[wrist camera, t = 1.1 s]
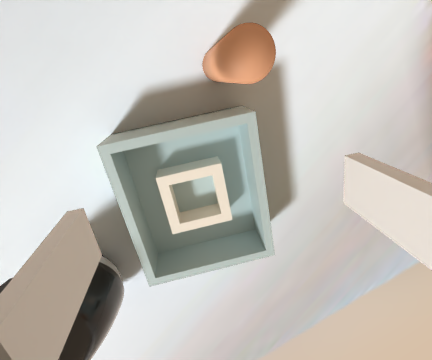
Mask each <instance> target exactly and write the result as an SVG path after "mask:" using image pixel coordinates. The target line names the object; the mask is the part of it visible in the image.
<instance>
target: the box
mask: <svg viewBox="0 0 432 360" xmlns="http://www.w3.org/2000/svg"><path fill="white" fill-rule="evenodd" d="M97 149H98V152H99V155H100V157H101V160H102V162H103V165H104V168H105V170H106V173H107V176H108V178H109V181H110V184H111V186H112V189H113V191H114V194H115V197H116V199H117V202H118V205H119V207H120V210H121V213H122V215H123V218H124V221H125V223H126V226H127V228H128V231H129V234H130V236H131V239H132V242H133V244H134V247H135V250H136V252H137V255H138V257H139V260H140V263H141V265H142V268H143V271H144V273H145V276H146V279H147V281H148V284H149V286H154V285H158V284H162V283H166V282H170V281H174V280H178V279H182V278H186V277H190V276H194V275H198V274H202V273H205V272H209V271H213V270H217V269H221V268H225V267H229V266H233V265H237V264H241V263H245V262H249V261H253V260H257V259H261V258H265V257H269V256H273V255H275V252H274V245H273V237H272V230H271V223H270V215H269V208H268V200H267V193H266V186H265V178H264V171H263V163H262V156H261V148H260V141H259V134H258V126H257V119H256V111H254V110H251V109H249V108H246V107H244V106H238V107H234V108H229V109H225V110H220V111H216V112H211V113H206V114H202V115H197V116H193V117H188V118H184V119H179V120H175V121H170V122H166V123H161V124H156V125H152V126H147V127H143V128H138V129H134V130H129V131H125V132H120V133H115V134H111V135H110V136H109V137H107V138H106V139H105V140H104V141H103V142H101V143H100V144H99V145H98V146H97Z"/></svg>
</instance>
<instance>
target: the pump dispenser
mask: <svg viewBox="0 0 432 360" xmlns="http://www.w3.org/2000/svg"><path fill="white" fill-rule="evenodd" d="M123 296H124V286H123V283H122V280H121V276H120V273H119V271H118V269H117V268H116V266H115V265H114V264H113V263H112V262H111V261H109V260H108V259H106V258H104V257H102V256H101V259H100V261H99V264H98V266H97V268H96V271H95V273H94V275H93V278H92V280H91V283H90V285H89V287H88V290H87V292H86V295H85V297H84V299H83V302H82V304H81V307H80V309H79V311H78V314H77V316H76V318H75V321H74V323H73V326H72V328H71V330H70V333H69V335H68V338H67V340H66V342H65V345H64V347H63V350H62V352H61V354H60V357H59V359H58V360H91V358H92V357H93V356H94V354H95V353H96V351H97V350H98V349H99V347H100V346H101V344H102V342H103V341H104V339H105V337H106V336H107V334H108V332H109V330H110V329H111V327H112V325H113V323H114V320H115V318H116V316H117V314H118V312H119V309H120V307H121V304H122V300H123Z"/></svg>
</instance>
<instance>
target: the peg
mask: <svg viewBox="0 0 432 360" xmlns="http://www.w3.org/2000/svg"><path fill="white" fill-rule="evenodd" d="M275 55H276V49H275V44H274V40H273V38H272V36H271V34H270V33H269V32H268V31H267V30H266V29H265V28H264V27H263V26H261V25H259V24H256V23H243V24H240V25H238V26H236V27H235V28H233V29H232V30H231V31H230V32H229V33H228V34H227V35H225V36H224V37H223V38H222V39H221V40H220V41H219V42H218V43H217V44H216V45H214V46H213V47H212V48H211V49H210V50H209V51H208V52H207V53H206V54H205V56H204V58H203V63H202V66H203V71H204V73H205V75H206V76H207V77H208V78H209V79H210V80H212V81H215V82H227V83H240V84H253V83H256V82H258V81H260V80H262V79H263V78H264V77H266V76H267V74H268V73H269V72H270V70H271V69H272V67H273V64H274V61H275Z"/></svg>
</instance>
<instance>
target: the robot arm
mask: <svg viewBox="0 0 432 360" xmlns="http://www.w3.org/2000/svg"><path fill="white" fill-rule="evenodd" d="M343 203H344V204H345V205H346V206H348V207H349V208H350V209H352V210H353V211H354V212H356V213H357V214H358V215H359V216H361V217H362V218H363V219H365V220H366V221H367V222H369V223H370V224H371V225H373V226H374V227H375V228H377V229H378V230H379V231H381V232H382V233H383V234H385V235H386V236H387V237H388V238H390V239H391V240H392V241H394V242H395V243H396V244H398V245H399V246H400V247H402V248H403V249H404V250H406V251H407V252H408V253H410V254H411V255H412V256H414V257H415V258H416V259H417V260H419V261H420V262H422V263H423V264H424V265H425V266H427V267H428V268H429V269H431V270H432V183H430V182H428V181H425V180H423V179H421V178H418V177H416V176H413V175H411V174H409V173H406V172H404V171H401V170H399V169H397V168H394V167H392V166H389V165H387V164H385V163H382V162H380V161H377V160H375V159H373V158H370V157H368V156H365V155H363V154H361V153H355V154H350V155H345V162H344V195H343ZM101 256H102V253H101V251H100V248H99V246H98V243H97V241H96V238H95V236H94V233H93V231H92V228H91V226H90V223H89V221H88V218H87V216H86V213H85V211H84V208H82V209H77V210H72V211H67V212H66V213H65V215H64V216H63V217H62V218H61V220H60V221H59V222H58V223H57V225H56V226H55V227H54V228H53V229H52V231H51V232H50V233H49V234H48V236H47V237H46V238H45V239H44V240H43V242H42V243H41V244H40V245H39V247H38V248H37V249H36V250H35V252H34V253H33V254H32V255H31V256H30V258H29V259H28V260H27V261H26V263H25V264H24V265H23V266H22V268H21V269H20V270H19V271H18V272H17V274H16V275H15V276H14V277H13V278H11V279H9V280H8V281H6V282H5V283H4V284H2V285H1V286H0V360H58V359H59V357H60V354H61V352H62V350H63V347H64V345H65V342H66V340H67V338H68V335H69V333H70V330H71V328H72V326H73V323H74V321H75V318H76V316H77V314H78V311H79V309H80V307H81V304H82V302H83V299H84V297H85V295H86V292H87V290H88V287H89V285H90V283H91V280H92V278H93V275H94V273H95V271H96V268H97V266H98V264H99V261H100V259H101Z"/></svg>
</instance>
